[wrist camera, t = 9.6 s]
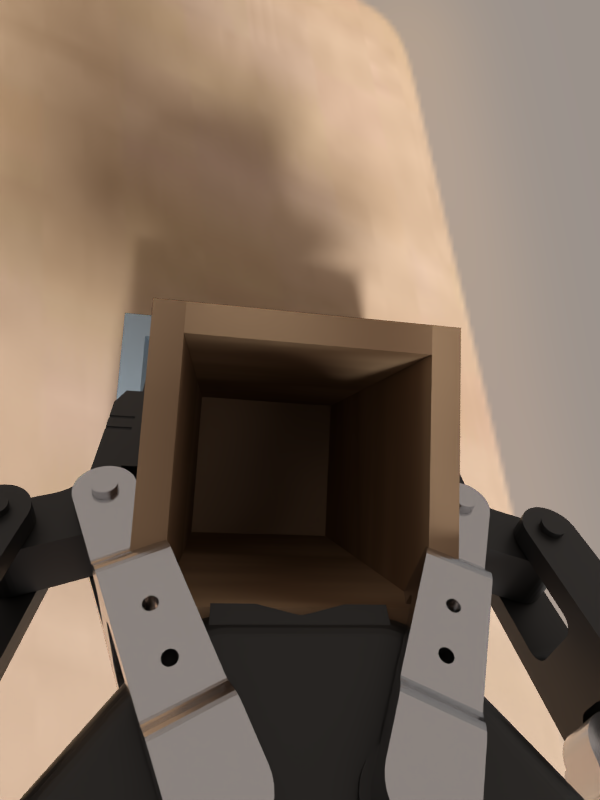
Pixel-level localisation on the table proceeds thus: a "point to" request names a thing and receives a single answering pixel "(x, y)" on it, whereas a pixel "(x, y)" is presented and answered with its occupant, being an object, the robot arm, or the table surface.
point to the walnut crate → (298, 454)
